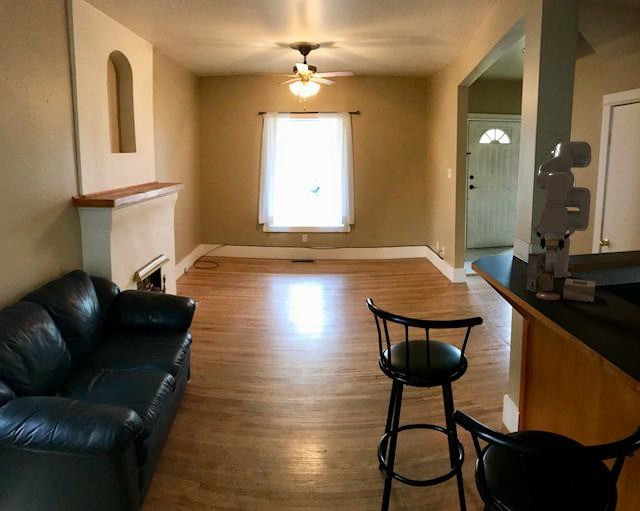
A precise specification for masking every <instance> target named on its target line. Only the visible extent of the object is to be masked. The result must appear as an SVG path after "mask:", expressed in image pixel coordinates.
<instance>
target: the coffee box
mask: <svg viewBox="0 0 640 511" xmlns="http://www.w3.org/2000/svg"><path fill="white" fill-rule="evenodd" d="M527 255H528V256H527V271H526V290H529V291H531V292H533V293H539V292H551V291H554V285H555V277H554V272H548V271H545V261H546V251H545V252H544V251H542V252H531V253H528V254H527Z"/></svg>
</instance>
